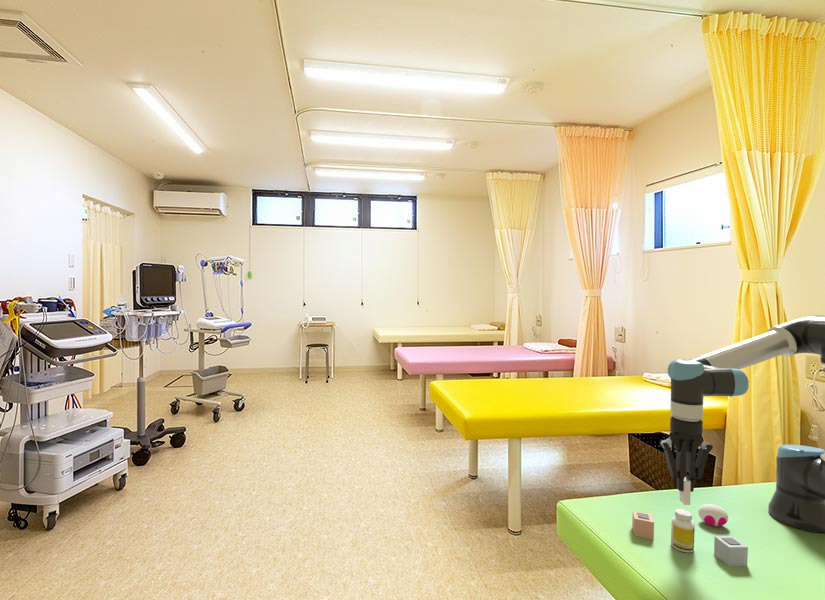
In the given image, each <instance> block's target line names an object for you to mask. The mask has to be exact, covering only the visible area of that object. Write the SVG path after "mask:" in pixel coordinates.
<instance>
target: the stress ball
mask: <svg viewBox="0 0 825 600" xmlns="http://www.w3.org/2000/svg"><path fill="white" fill-rule="evenodd" d="M697 512H698V516H699V518H700V519H701V520H702V521H703V522H704V523H706V524H708V525H710V526H712V527H713V526H714V527H715V529H716V530H718V528H717V527H721V526H725V525H726V524H727V523H728V522H729V515H728V512H726V510H724V509H723V508H722V507H721V506H719V505H716V504H712V503H706V504H703V505H701V506H700V507H699V509H698V511H697Z"/></svg>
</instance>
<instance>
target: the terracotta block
mask: <svg viewBox="0 0 825 600" xmlns="http://www.w3.org/2000/svg"><path fill="white" fill-rule="evenodd" d="M631 522H632V523H631V525H632V526H631V527H633V528H632V532H634V533H633V536H635V535H638V536H637V537H639V536H640V538H645V539H649V540H654V539H655V538H654V537H655V534H654V533H655V520H654V517H653V514H652V513H648V512H647V513H646V512H642V511H637V510H632V520H631Z"/></svg>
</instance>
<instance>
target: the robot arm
mask: <svg viewBox="0 0 825 600" xmlns="http://www.w3.org/2000/svg"><path fill="white" fill-rule="evenodd" d="M796 354H815V355H820V364H821V365H823V366H824V367H825V315H809V316H804V317H800V318H795V319H792V320H789V321H786V322H783V323H780V324H778V325H775V326H772V327H770V328H768V329H767V330H766V332H765V333H762V334H759V335H756V336H754V337H751V338H747V339H745V340H743V341H740V342H737V343H734V344H730V345H728V346H726V347H723V348H720V349H716V350H714V351H712V352H709V353H705V354H703V355H699V356H697V357H694V358H691V359H688V360H686V359H683V358H681V359H678V358H677V359H674V360H673V361H671V362H670V363H669V364H668V365H667V366H668V367H667V374H668V377H669V379H670V415H671V416H670V417H669V418H670V419H669V420H670V424H669V430H670V432H669V434H668V438H666V439H664V440H663V439H660V440H659V444H660V445H661V447H662V449H663V453H664V456H665V461H666V462H665V463H666V465H667V470H668V472H669V474H670V475H671V476H672V477H674V479H675V478H676V484H675V485H676V489H677V490H678V491H679V496H678V498H679V501H680V502H681V503H682V504H683V505H684V506H691V492H692V493H693V492H694V489H695V483H697V479H698V480H702V478H703V474H704V472H705V467H706V465H707V461H708V457H709V454H710V453H711V451H712V450H713V448H714V446H713V445H712V444H711V443H709V442H707V441H705V439H704V437H703V433H704V432H703V430H704V429H703V426H704V425H703V423H704V422H703V420H702V419H703V418H704V417H703V415H704V397H730V398H731V397H738V396H739V397H740V396H744V395H745V394H746V393H747V392H748V390H749V387H750V386H749V383H750V382H749V379H748V376H747V374H746V373H745V372H744V371H743V370H742V369H745V368H748V367H752V366H754V365H756V364H759V363H763V362H765V361H767V360H771V359H773V358H777V357H780V356H783V357H790V356H794V355H796ZM672 446H674V448H675V449H674V450H675V458H674V453H673V450H672ZM698 448H699V449H698ZM697 450H698V452H697ZM775 471H776V475H775V477H776V478H775V479H776V480H775V481H776V483H775V484H776V485H775V491H774V493H773V494H772V497H771V499H770V501H769V502H768V507H767V510H768V514H769V515H770V516H771V517H773V518H774V519H775V520H777V521H779V522H781V523H782V524H785V525H788V526H791V527H794V528H795V529H799V528H800V529H799V530H803V529H804V530H803V531H807V530H809V531H808V532H812V531H815V532H814V533H820V532H825V449H822V448H819V447H814V446H809V445H800V444H782V445H780V446H778V448H777V455H776V470H775Z"/></svg>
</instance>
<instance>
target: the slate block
mask: <svg viewBox="0 0 825 600" xmlns="http://www.w3.org/2000/svg"><path fill="white" fill-rule="evenodd" d="M713 542H714V545H713V546H714V548H713V549H714V550H713V555H714V556H715V557H716V558H718V559H719V560H721V561H722V563H724V564H725V565H726V566H728V567H748V556H749V555H748V554H749V546H747V545H746V544H744V543H743V542H741V541H740V540H739V539H737V538H736V537H734V536H733V535H719V536H717V535H715V536H714V541H713Z"/></svg>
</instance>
